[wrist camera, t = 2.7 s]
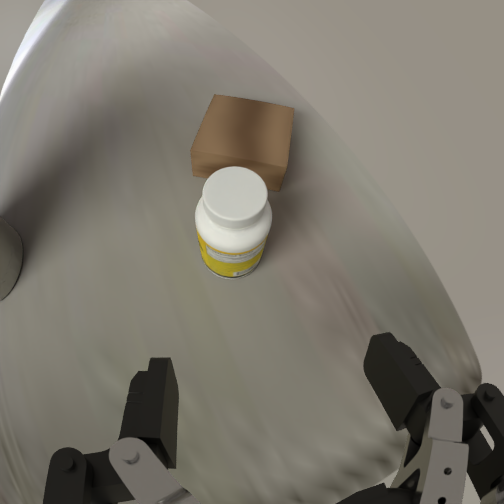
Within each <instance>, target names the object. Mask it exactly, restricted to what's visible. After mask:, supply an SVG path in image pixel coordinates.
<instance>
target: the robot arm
mask: <svg viewBox="0 0 504 504" xmlns="http://www.w3.org/2000/svg"><path fill="white" fill-rule="evenodd" d="M22 258H23V247H22V242H21V239H20V236H19V234H18V233H17V232H16V230H15V229H13V228H12V227H11V226H10V225H9V224H8V223H7V222H6V221H4V220H3V219H2V218H1V217H0V300H2V299H3V298H4V297H5V296H7V294H8V293H9V292H10V291H11V289H12V288H13V286H14V284H15V282H16V280H17V278H18V275H19V273H20V269H21V265H22ZM363 366H364V372H365V375H366V377H367V379H368V380H369V382H370V384H371V386H372V387H373V389H374V391H375V393H376V395H377V396H378V398H379V400H380V402H381V403H382V405H383V407H384V409H385V411H386V413H387V414H388V416H389V418H390V420H391V422H392V423H393V425H394V427H395V429H396V431H399V430H402V429H404V428H407V430H408V432H409V434H408V436H407V440H406V444H405V448H404V452H403V456H402V460H401V464H400V468H399V471H398V473H397V475H396V477H395V479H394V480H393V482H392V484H391V486H390V488H386V486H385V484H384V483H382V484H379V485H376V486H373V487H370V488H367V489H365V490H362V491H358V492H356V493H354V494H353V495H351V496H349V497H347V498H346V499H344V500H342V501H340V502H338V503H336V504H462V499H463V493H464V487H465V480H466V472H467V473H468V475H469V477H470V479H471V481H472V483H473V485H474V487H475V489H476V492H477V494H478V496H479V498H480V500H481V502H480V504H504V396H503V395H502V393H501V392H500V391H499V389H498V388H497V387H496V386H494V385H492V384H489V383H484V384H481V385H480V386H479V387H478V388H477V390H476V391H475V393H474V394H465V395H460V394H459V393H458V392H457V391H455V390H453V389H451V388H441V387H440V386H439V385H438V383H437V382H436V381H435V379H434V378H433V377H432V375H431V374H430V373H429V371H428V370H427V369H426V367H425V366H424V365H423V364H422V362H421V361H420V360H419V358H417V356H416V354H415V353H414V352H413V351H412V349H411V348H410V347H408V346H407V345H405V344H404V343H402V342H401V341H400V342H398V341H397V340H396V339H395V337H394V336H393V335H392V334H391V333H390V332H387V333H382V334H377V335H373V336H372V337H371V339H370V343H369V346H368V350H367V353H366V356H365V359H364V365H363ZM178 403H179V391H178V384H177V380H176V376H175V372H174V369H173V365H172V361H171V358H151V359H150V361H149V367H148V371H138V372H137V374H136V375H135V376H134V377H133V379H132V380H131V383H130V387H129V394H128V396H127V403H126V406H125V410H124V415H123V420H122V426H121V431H120V436H119V438H118V441H117V442H115V443H114V444H113V445H112V447H111V448H110V449H108V450H105V451H102V452H97V453H91V454H82V453H81V452H80V451H78V450H77V449H74V448H69V447H67V448H62V449H59V450H58V451H56V452H55V453H54V454H53V456H52V458H51V460H50V465H49V470H48V475H47V481H46V486H45V493H44V499H43V504H118V502H124V501H130V500H136V501H137V502H138V503H139V504H201V503H200V502H199V501H198V500H197V499H196V498H195V497H194V496H193V495H192V494H191V493H190V492H189V491H187V490H186V489H184V488H183V487H182V486H181V485H180V483H179V482H178V481H177V480H176V479H175V478H174V477H173V476H172V474H171V473H170V472H169V471H168V468H171V469H176V450H177V422H178ZM483 425H484V426H485V427H486V429H487V430H488V432H489V434H490V436H491V437H492V439H493V441H494V449H493V451H492V449H491V448H490V446H489V444H488V443H487V441H486V439H485V437H484V436H483V434H482V433H481V431H480V428H481V427H482V426H483Z"/></svg>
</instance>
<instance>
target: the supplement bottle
mask: <svg viewBox="0 0 504 504" xmlns="http://www.w3.org/2000/svg"><path fill="white" fill-rule="evenodd" d="M267 197H268V192H267V187H266V185H265V183H264V181H263V180H262V178H261V177H260V176H259V175H258V174H256V173H255V172H253V171H251V170H249V169H247V168H243V167H235V166H233V167H226V168H223V169H220V170H218V171H216V172H214V173H213V174H212V175H211V176H210V177H209V178H208V179H207V181H206V182H205V185H204V187H203V196H202V197H201V199H200V200H199V202H198V204H197V207H196V212H195V223H196V229H197V234H198V240H199V245H200V251H201V255H202V259H203V261H204V263H205V265H206V267H207V268H208V269H209V270H210V271H211V272H212V273H214V274H215V275H217V276H219V277H222V278H226V279H238V278H242V277H244V276H246V275H248V274H249V273H251V272H252V271H253V270H254V269H255V268H256V266H257V265H258V263H259V261H260V258H261V255H262V252H263V249H264V246H265V243H266V240H267V236H268V234H269V230H270V227H271V223H272V210H271V207H270V204H269V202H268V200H267Z"/></svg>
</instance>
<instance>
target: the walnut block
mask: <svg viewBox="0 0 504 504" xmlns="http://www.w3.org/2000/svg"><path fill="white" fill-rule="evenodd" d="M293 115H294V108H290V107H286V106H281V105H276V104H271V103H266V102H261V101H255V100H249V99H243V98H237V97H230V96H223V95H215V94H214V96H213V99H212V101H211V103H210V105H209V107H208V110H207V112H206V114H205V117H204V119H203V121H202V124H201V126H200V128H199V131H198V133H197V135H196V138H195V140H194V143H193V145H192V148H191V150H190V151H191V161H192V171H193V176H197V177H203V178H209V177H210V176H211V175H212V174H213V173H214V172H216V171H218V170H220V169H223V168H226V167H233V166H235V167H243V168H247V169H249V170H251V171H253V172H255V173H256V174H258V175H259V176H260V177H261V178H262V180H263V181H264V183H265V185H266V187H267V189H268V190H273V191H278V192H279V191H280V188H281V185H282V181H283V178H284V175H285V172H286V169H287V163H288V156H289V148H290V140H291V132H292V124H293Z"/></svg>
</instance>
